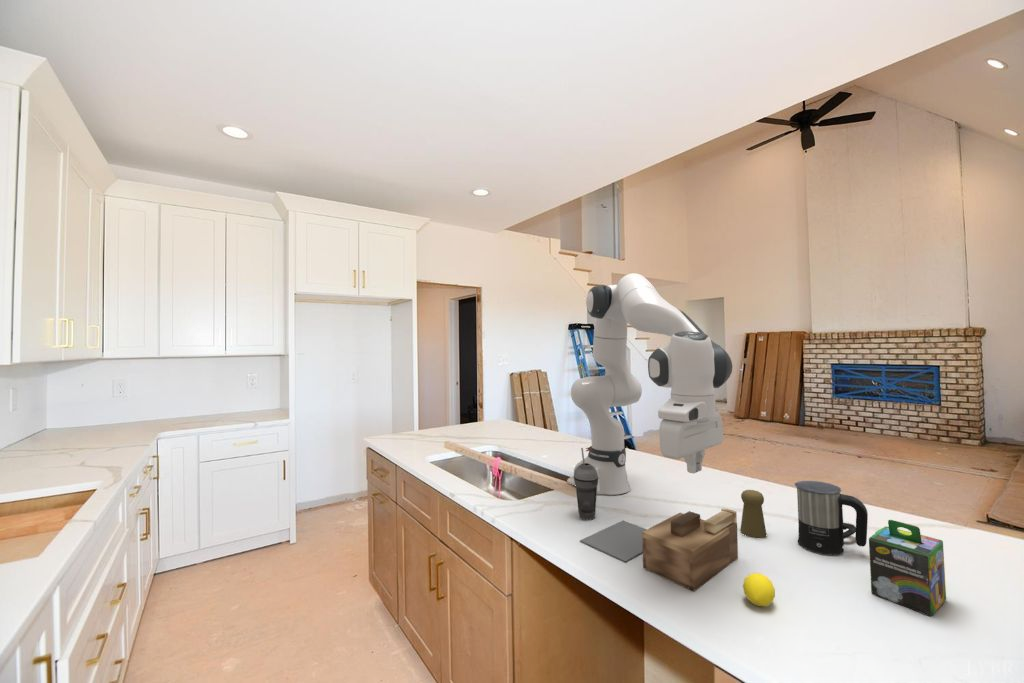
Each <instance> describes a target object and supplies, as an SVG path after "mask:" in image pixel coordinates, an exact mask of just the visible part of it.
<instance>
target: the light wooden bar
mask: <svg viewBox="0 0 1024 683" xmlns="http://www.w3.org/2000/svg"><path fill="white" fill-rule="evenodd" d="M731 523H734V524H735V523H737V524H738V522H737V511H736V510H733V509H730V508H726V507H722V508H721V510H720V511H719V512H718V513H716V514H714V515H712V516H711V517H709V518H707V519H705V521H704V530H705V531H708V532H711V533H714V534H715V533H717V532H718V531H720V530H722V529H723V528H725V527H726V526H728V525H730V524H731Z"/></svg>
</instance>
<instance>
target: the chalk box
mask: <svg viewBox="0 0 1024 683" xmlns="http://www.w3.org/2000/svg"><path fill="white" fill-rule="evenodd" d="M887 524H888V526H884V527H882V528H880V529H878V530H876V531H875V532H874V534H873V535H871V536H869V538H868V550H869V571H870V573H869V574H870V589H871V591H870V592H871V595H875V596H877V597H881V599H882V598H883V599H885V600H888V601H890V602H893V603H896V604H898V605H901V606H903V607H906V608H908V609H910V610H913V611H915V612H918V613H920V614H924V615H925V616H928V617H932V616H934V614H935V613H937V611H938V609H940V608H941V606H942V605H943V604H944V602H946V600H947V589H946V572H945V570H946V569H945V556H944V555H945V554H944V553H945V552H944V541H943V540H942V539H939V538H936V537H935V538H934V537H931V536H928V535H927V536H926V535H922V534H921V529H920V527H918V526H917V525H913V524H911V523H910V524H909V523H905V522H901V521H898V520H894V519H888V520H887ZM898 528H899V529H898ZM900 528H903V529H900ZM904 529H907V530H904Z"/></svg>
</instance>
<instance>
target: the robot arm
mask: <svg viewBox="0 0 1024 683" xmlns="http://www.w3.org/2000/svg"><path fill="white" fill-rule="evenodd" d="M585 302H586V303H585V304H586V305H585V306H586V309H587V313H588V314H589V315H590V317H592V318H593V319H594V318H595V323H594V330H593V339H592V340H593V345H592V358H593V359H594V361H595V362H596V363H597V364H599V365H600V366H602V367H604V372H605V374H604V375H596V376H595V375H593V376H586V377H582V378H578V379H575V381H574V382H573V384H572V386H571V388H570V397H571V400H572V402H573V404H574V405H575V406H577V407H578V408H579V409H580V410H581V411H582V412H583V413H584V414H585V415H586V418H587V419H588V422H589V426H590V427H589V428H590V435H591V437H590V438H591V445H590V446H589V447H586V448H585V449H586V450H585V452H588V454H587V456H585V457H584V461H585V463H588V464H591V465H592V466H594V468H595V469H596V471H597V473H598V478H599V479H598V485H597V495H610V496H611V495H612V496H614V495H623V494H626V493H628V492H629V491H630V490H631V487H630V483H629V479H628V474H627V468H626V460H627V453H626V452H627V450H626V447H625V431H624V430H625V429H624V425H623V424H622V423H621V421H619V419H617V418H615V417H613V416H612V415H611V413H610V408H614V407H615V408H616V407H626V406H629V405H632V404H636V403H637V402H638V401H640V399H641V396H642V391H643V390H642V389H643V388H642V385H641V383H640V381H639V379H638V378H637V377H636V376H635V375H633V373H632V372H631V370H630V369H629V366H628V361H627V344H628V342H627V340H628V325H630V327H632V328H633V329H634V330H637V331H639V332H642V333H650V334H651V333H652V334H657V335H664V336H667V337H670V340H669V343H667V344H665V345H664V346H662V347H660V348H659V347H658V348H656V349H655V350H654V351H653V352H652V353H651V354H650V355H649V357H648V360H647V369H648V370H647V371H648V376H649V377H648V378H649V379H650V380H651V381H652V382H653V383H654V384H655V385H656V386H658V387H662V388H671V389H670V398H669V399H668V400H667V401H666V402H665V403H664V404H663V405H662V406H660V407H659V408H658V410H657V414H658V415H657V416H658V418H659V419H661V421H660V422H659V423H660V424H659V432H658V433H659V450H660V453H661V455H662V456H663V457H664V458H666V459H667V458H668V459H672V460H680V459H684V462H685V463H686V471H687V473H689V474H696V473H698V472H701V471H702V469H703V468H702V467H703V466H702V463H703V460H704V457H705V455H706V453H705V451H706V450H708V449H711V448H713V447H716V446H719V445H721V444H722V443H723V441H724V427H723V426H724V425H723V419H722V415H721V412H719V411H718V410H719V409H718V407H717V405H716V391H715V389H719V388H720V387H721V386H723V385H724V384H725V383H726V382H727V381H728V380H729V378H730V377H731V375H732V372H733V362H732V359H731V357H730V355H729V353H728V352H727V351H726V350H725V349H724V348H723V347H722V346H721V345H720V344H717V343H716V342H715V341H713V340H712V339H711V337H710V335H708V334H706V333H705V332H704V331H703V330H702V329H701V328H700V327H699V326H698V325H697V324H696V322H695V321H694V320H692V319H691V317H689V315H687V313H685V311H683V310H681V309H679V308H677V307H675V306H674V305H673V304H670V303H669V301H667V300H666V299H664V297H662V296H661V295H660V294H659V292H658V290H657V289H656V288H655V287H654V285H653V284H652V283H651V282H650V281H649V280H648V279H647V278H646V277H645V276H644V275H642V274H640V273H636V272H635V273H633V272H632V273H629V274H625V275H624V276H622V277H621V278H620V279H619V281H618V282H617V284H609V285H605V284H599V285H595V286H593V287H592V288H590V289H589V291H588V293H587V296H586V301H585ZM580 464H583V459H582V460H581V461H579V462H578V463H577V464H576V465H575V466H574V469H573V473H574V472H575V470H576V468H577V467H578V466H579V465H580ZM573 477H574V475H572V476H569V478H567V480H566V483H567V484H569V485H571V484H572V485H571V486H573V485H575V481H574V478H573Z"/></svg>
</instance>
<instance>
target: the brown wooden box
mask: <svg viewBox="0 0 1024 683" xmlns="http://www.w3.org/2000/svg"><path fill="white" fill-rule="evenodd" d="M726 527H727V528H729V534H728V535H726V536H725V537H723V538H722V539H720V540H719V541H717V542H716V543H714V544H713V545H711V546H710V547H708V548H707V549H705V550H704V551H702V552H701V553H699V554H698V555H696V556H694V557H691V556H689V555H686V554H684V553H681V552H679V551H676V550H674V549H671V548H669V547H666V546H663V545H661V544H658V543H656V542H653V541H651V540H648V539H646V538H643V537H642V543H643V553H642V569H644V570H646V571H648V572H650V573H652V574H655V575H657V576H660V577H661V578H663V579H666V580H668V581H670V582H672V583H675V584H677V585H679V586H682V587H683V588H685V589H688V590H690V591H693V592H696V591H697V590H699V589H700V588H701V587H703V585H705V584H706V583H707V582H709V581H710V580H711V579H713V578H714V577H715V576H717V575H718V574H720V573H721V572H722V571H723V570H724V569H726V568H727V567H728V566H730V565H731V564H732V563H734V562H735V561H737V559H738V558H739V551H738V550H739V548H738V547H739V546H738V544H739V542H738V540H739V539H738V538H739V537H738V522H737V523H735V524H734V523H731V524H730V525H728V526H726Z"/></svg>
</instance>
